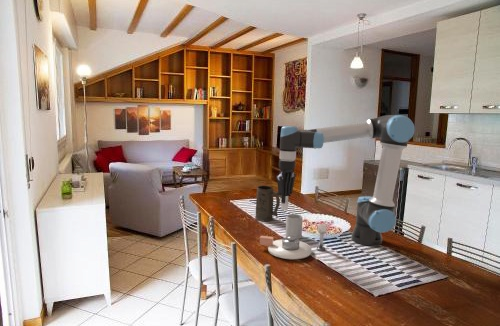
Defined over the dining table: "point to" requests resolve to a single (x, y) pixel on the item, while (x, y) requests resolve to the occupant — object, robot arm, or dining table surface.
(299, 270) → the dining table surface
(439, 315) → the dining table surface
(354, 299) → the dining table surface
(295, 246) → the cover
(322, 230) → the dial post
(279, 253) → the turntable
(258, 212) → the beer stein
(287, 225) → the mug
